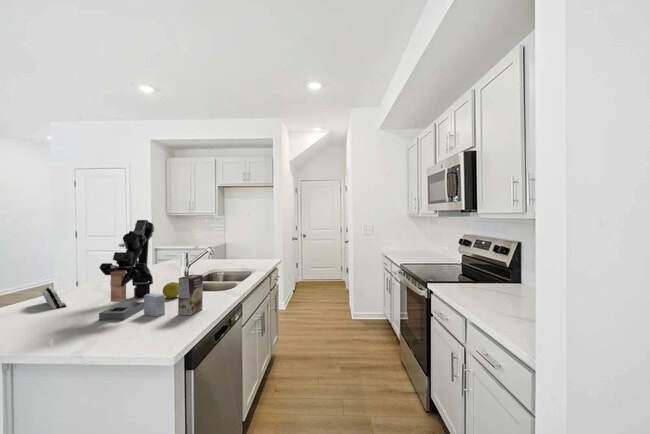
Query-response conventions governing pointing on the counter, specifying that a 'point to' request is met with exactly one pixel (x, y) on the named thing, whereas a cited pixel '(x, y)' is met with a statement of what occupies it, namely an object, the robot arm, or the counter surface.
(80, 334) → the counter surface
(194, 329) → the counter surface
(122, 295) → the square peg
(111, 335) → the counter surface
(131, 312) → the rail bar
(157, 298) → the medicine box
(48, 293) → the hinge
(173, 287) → the lemon
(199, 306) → the coffee box
